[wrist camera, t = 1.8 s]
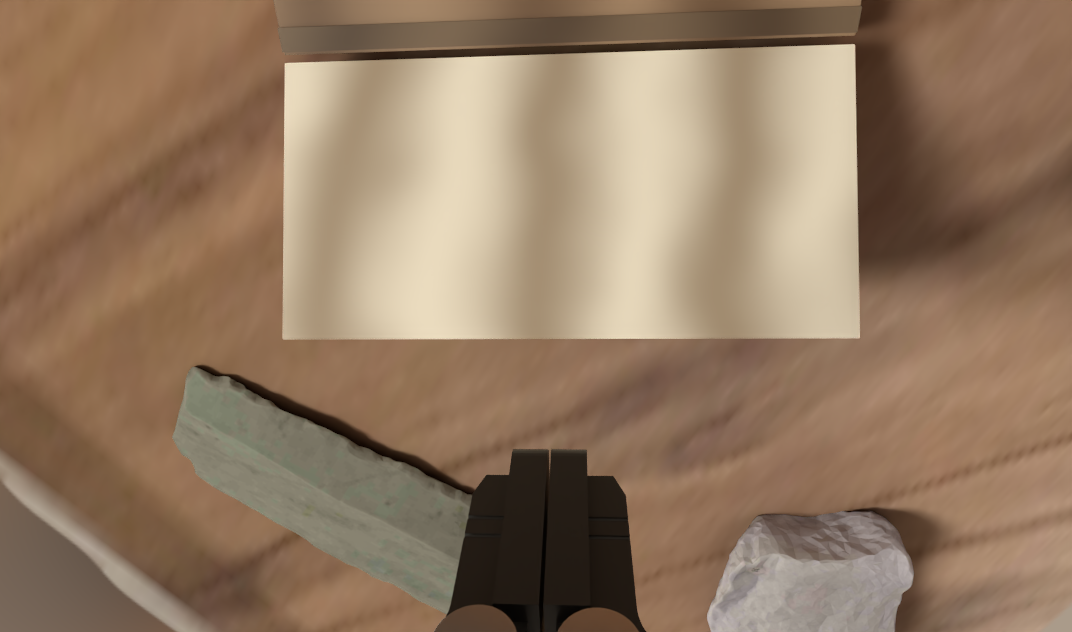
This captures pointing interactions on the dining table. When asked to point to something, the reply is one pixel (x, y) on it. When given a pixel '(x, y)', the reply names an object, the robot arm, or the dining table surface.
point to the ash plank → (573, 196)
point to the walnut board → (547, 22)
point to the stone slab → (325, 487)
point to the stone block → (813, 575)
